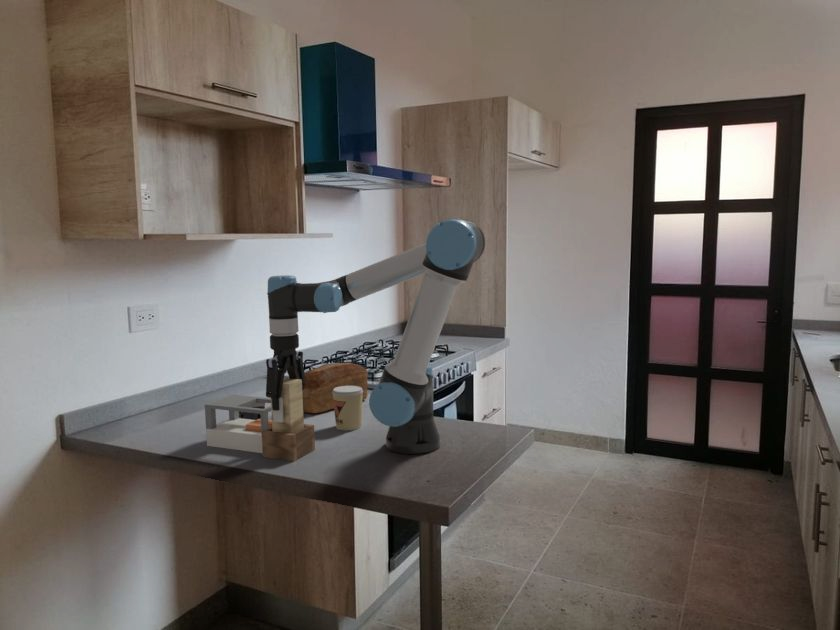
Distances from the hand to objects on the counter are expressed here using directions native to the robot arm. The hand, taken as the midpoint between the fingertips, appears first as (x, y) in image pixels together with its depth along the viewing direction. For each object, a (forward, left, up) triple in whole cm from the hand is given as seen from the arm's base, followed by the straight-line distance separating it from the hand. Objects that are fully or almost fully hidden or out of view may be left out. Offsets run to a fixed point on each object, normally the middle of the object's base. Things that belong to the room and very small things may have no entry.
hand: (287, 417), depth 178 cm
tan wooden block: (0, 0, -10) cm, 10 cm away
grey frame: (+16, -3, -10) cm, 19 cm away
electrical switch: (+25, -16, -10) cm, 32 cm away
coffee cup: (-3, -27, -10) cm, 29 cm away
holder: (0, 0, -10) cm, 10 cm away
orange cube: (+12, -3, -10) cm, 15 cm away
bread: (+15, -48, -10) cm, 52 cm away
